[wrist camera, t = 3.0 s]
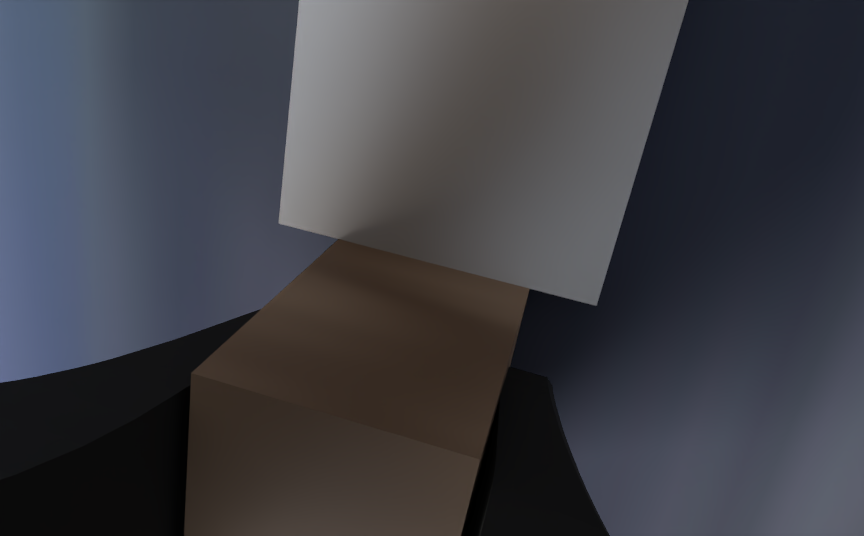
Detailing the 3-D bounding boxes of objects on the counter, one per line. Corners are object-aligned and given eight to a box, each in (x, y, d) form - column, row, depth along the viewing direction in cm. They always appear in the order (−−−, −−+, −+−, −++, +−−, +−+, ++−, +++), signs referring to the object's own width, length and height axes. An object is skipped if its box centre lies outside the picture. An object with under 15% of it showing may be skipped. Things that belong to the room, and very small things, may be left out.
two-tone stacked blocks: (278, 406, 13) (107, 620, 9) (364, -408, 9) (84, -845, 4) (538, 485, 13) (494, 761, 8) (790, -359, 8) (1025, -828, 3)
